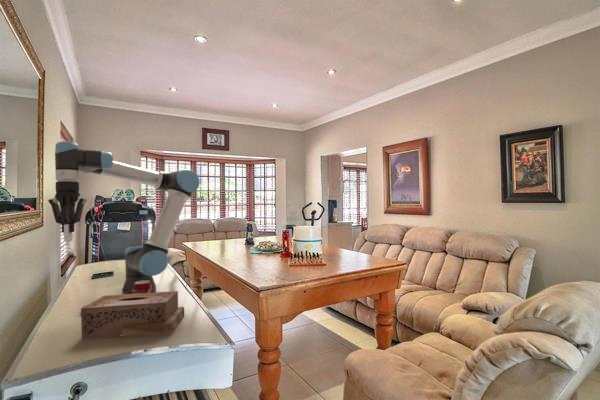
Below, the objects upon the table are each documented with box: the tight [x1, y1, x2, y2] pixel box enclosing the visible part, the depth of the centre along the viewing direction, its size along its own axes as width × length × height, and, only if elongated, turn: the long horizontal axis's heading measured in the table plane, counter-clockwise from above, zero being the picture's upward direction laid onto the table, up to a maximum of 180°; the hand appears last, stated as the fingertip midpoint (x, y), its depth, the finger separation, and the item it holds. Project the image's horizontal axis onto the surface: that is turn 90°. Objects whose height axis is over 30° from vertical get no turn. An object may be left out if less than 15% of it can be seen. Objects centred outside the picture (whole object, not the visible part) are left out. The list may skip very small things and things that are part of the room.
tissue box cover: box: [80, 290, 179, 340], centre depth 107 cm, size 26×14×10 cm, turn 97°
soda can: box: [133, 280, 152, 294], centre depth 123 cm, size 7×7×12 cm
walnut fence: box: [121, 306, 185, 339], centre depth 107 cm, size 17×15×4 cm
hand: (68, 240), depth 122 cm, fingers closed
